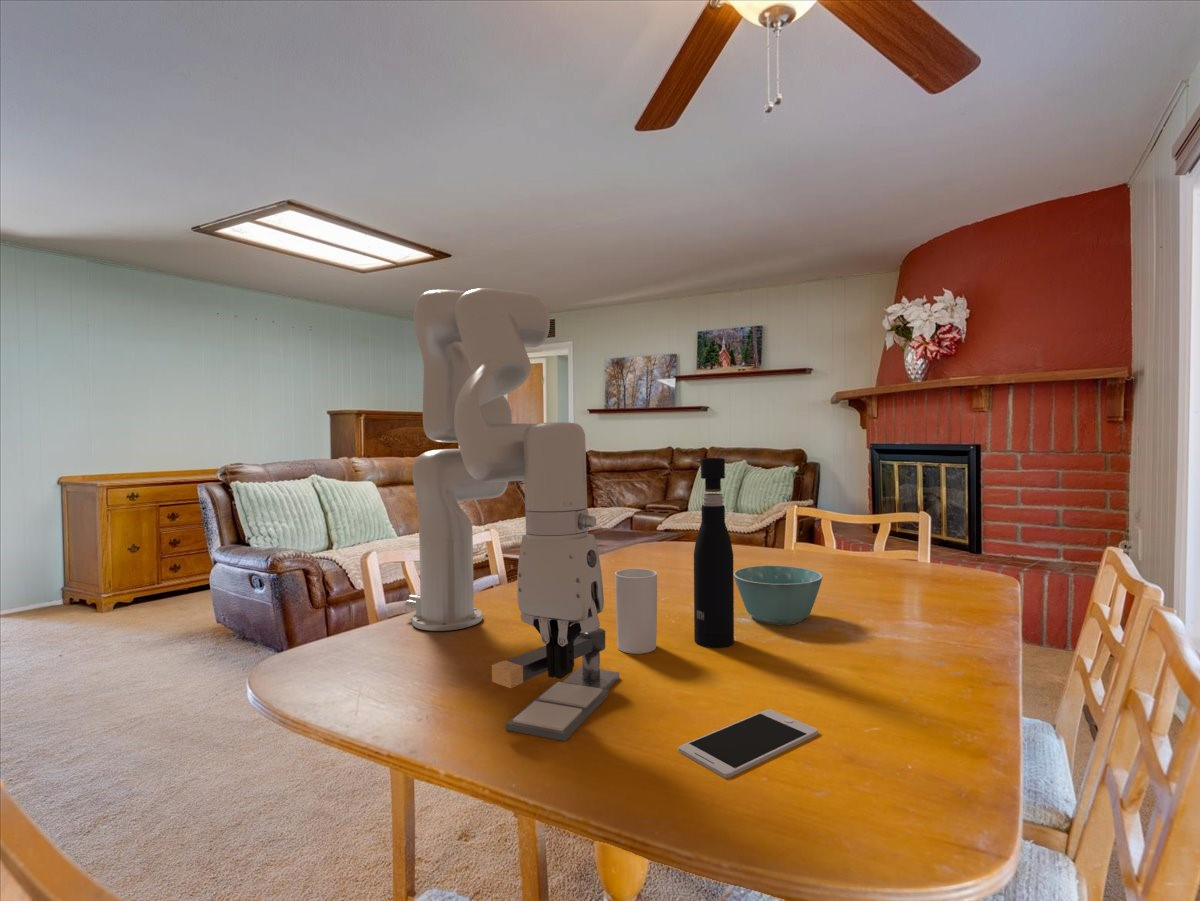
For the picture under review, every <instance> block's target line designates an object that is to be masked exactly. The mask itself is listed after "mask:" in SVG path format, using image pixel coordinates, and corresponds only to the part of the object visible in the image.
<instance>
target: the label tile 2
mask: <svg viewBox="0 0 1200 901" xmlns="http://www.w3.org/2000/svg"><path fill="white" fill-rule="evenodd" d="M562 682H563V681H562ZM562 682H561V681H555V682H554V683H553V684H552V685H550V686H549V687H548V688H547V689H546V690H543V692H542V693H541V694H539V695H538V696H537V697H536V698H535V699H533V700H532V701H538V702H544V703H550V704H556V705H561V706H567V707H573V708H579V709H584V710H588V711H589V712H588V713H589V714H588V715H589V716H588V718H589V717H590V716H591V715H592V714H593V713H594V712H595V711H596V710H597V708H599V707H600V706H601V704H602V703H604V701H605V700H607V698H608V697H609V689H608V690H606V689H601V688H595V687H588V686H582V685H575V684H569V683H562Z"/></svg>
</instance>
